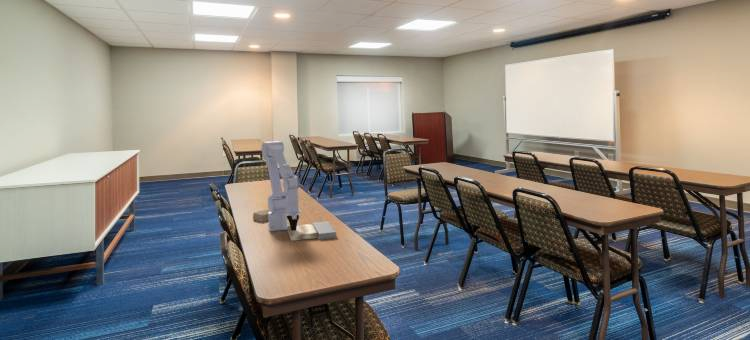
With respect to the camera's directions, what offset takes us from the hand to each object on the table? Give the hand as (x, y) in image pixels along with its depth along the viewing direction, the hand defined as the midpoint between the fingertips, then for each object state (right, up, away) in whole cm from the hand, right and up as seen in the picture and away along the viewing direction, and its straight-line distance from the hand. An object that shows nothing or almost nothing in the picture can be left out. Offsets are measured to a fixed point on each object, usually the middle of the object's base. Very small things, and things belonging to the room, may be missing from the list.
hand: (293, 230), depth 203 cm
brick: (-20, +2, +35) cm, 40 cm away
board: (+14, -2, +5) cm, 15 cm away
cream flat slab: (+4, -2, +2) cm, 5 cm away
